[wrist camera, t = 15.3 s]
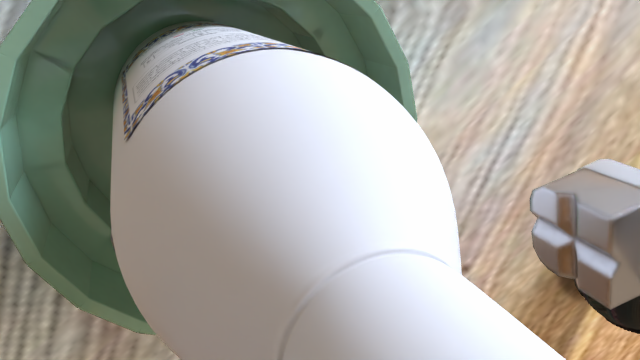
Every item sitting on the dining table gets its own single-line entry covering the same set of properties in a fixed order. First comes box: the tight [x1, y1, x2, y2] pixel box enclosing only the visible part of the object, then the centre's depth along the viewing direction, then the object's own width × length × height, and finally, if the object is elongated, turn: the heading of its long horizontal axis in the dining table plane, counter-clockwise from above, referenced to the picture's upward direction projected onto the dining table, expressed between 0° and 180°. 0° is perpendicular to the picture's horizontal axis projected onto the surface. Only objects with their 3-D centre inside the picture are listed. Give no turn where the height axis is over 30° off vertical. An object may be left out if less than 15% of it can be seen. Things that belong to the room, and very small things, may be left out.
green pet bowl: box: [0, 0, 417, 335], centre depth 20 cm, size 14×14×6 cm
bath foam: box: [110, 21, 566, 360], centre depth 13 cm, size 7×7×20 cm
